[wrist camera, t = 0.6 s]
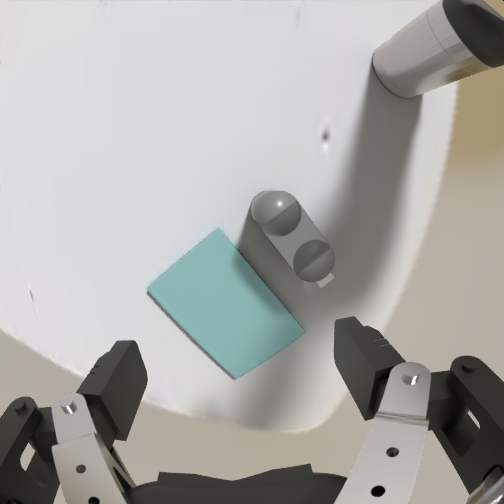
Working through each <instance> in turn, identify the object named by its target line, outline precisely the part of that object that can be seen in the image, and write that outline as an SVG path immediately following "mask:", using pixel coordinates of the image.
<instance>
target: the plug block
mask: <svg viewBox="0 0 504 504" xmlns="http://www.w3.org/2000/svg"><path fill="white" fill-rule="evenodd" d="M250 212H251V215H252V218H253V219H254V221H255V222H256V223H257V224H258V226H259V227H260V228H261V230H262V231H263V232H264V233H265V235H266V236H267V237H268V238H269V240H270V241H271V242H272V244H273V245H274V246H275V247H276V249H277V250H278V251H279V253H280V254H281V255H282V256H283V258H284V259H285V260H286V261H287V263H288V264H289V265H290V267H291V268H292V269H293V270H294V272H295V273H296V274H297V275H298V276H299V277H300V278H301V279H302V280H305V281H307V282H316V283H317V285H318V286H319V287H320V288H322V287H324V286H325V285H326V284H327V283H329V282H330V281H331V280H332V279H334V278H335V277H334V276H333V274H332V273H331V270H332V268H333V265H334V253H333V251H332V249H331V247H330V246H329V244H328V243H327V241H326V240H325V238H324V237H323V236H322V234H321V233H320V231H319V230H318V228H317V227H316V226H315V224H314V223H313V221H312V220H311V219H310V217H309V216H308V214H307V213H306V212H305V210H304V209H303V208H302V206H301V205H300V204H299V202H298V201H297V200H296V198H295V197H294V196H292V195H291V194H289V193H287V192H284V191H263V192H261V193H259V194H257V195H256V196H255V197H254V199H253V200H252V203H251V206H250Z"/></svg>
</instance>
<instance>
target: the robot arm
mask: <svg viewBox="0 0 504 504" xmlns="http://www.w3.org/2000/svg"><path fill="white" fill-rule="evenodd" d="M503 1H504V0H503ZM502 65H504V17H502V16H501V15H500V14H499V13H497V12H496V11H495V10H494V9H493V8H492V7H490V6H489V5H488V4H487V3H486V2H485V1H483V0H440V1H438V2H437V3H436V4H434V5H433V6H431V7H430V8H429V9H427V10H426V11H425V12H423V13H422V14H421V15H419V16H418V17H417V18H415V19H414V20H413V21H411V22H410V23H409V24H407V25H406V26H405V27H404V28H402V29H401V30H400V31H398V32H397V33H396V34H395V35H393V36H392V37H391V38H389V39H388V40H387V41H386V42H385V43H383V44H382V45H381V46H380V47H378V48H377V49H376V50H375V52H374V54H373V66H374V70H375V72H376V74H377V76H378V78H379V79H380V81H381V82H382V83H383V84H384V86H385V87H386V88H388V89H389V90H390V91H391V92H393V93H394V94H396V95H398V96H400V97H403V98H413V97H416V96H418V95H420V94H423V93H425V92H428V91H431V90H433V89H436V88H438V87H441V86H444V85H446V84H449V83H452V82H454V81H457V80H460V79H463V78H466V77H468V76H471V75H474V74H477V73H480V72H483V71H486V70H489V69H492V68H496V67H499V66H502ZM334 360H335V364H336V367H337V368H338V370H339V372H340V374H341V376H342V378H343V380H344V382H345V384H346V385H347V387H348V389H349V391H350V393H351V395H352V397H353V398H354V401H355V402H356V404H357V406H358V408H359V410H360V412H361V414H362V416H363V418H364V420H365V421H367V420H370V419H373V418H374V420H373V422H372V425H371V428H370V430H369V433H368V435H367V437H366V440H365V442H364V445H363V447H362V449H361V452H360V454H359V456H358V458H357V460H356V462H355V465H354V467H353V469H352V471H351V473H350V475H349V477H348V478H346V477H343V476H339V475H335V474H328V473H313V472H312V469H311V464H306V465H300V466H295V467H288V468H281V469H274V470H270V471H267V472H264V473H261V474H257V475H254V476H250V477H247V478H243V479H240V480H235V481H229V480H222V479H217V478H212V477H207V476H202V475H197V474H185V473H167V472H159V476H158V481H155V482H150V483H145V484H142V485H139V486H136V485H135V483H134V482H133V480H132V478H131V477H130V475H129V473H128V471H127V470H126V468H125V466H124V464H123V462H122V461H121V459H120V456H119V455H118V453H117V451H116V449H115V447H114V446H113V442H114V440H122V441H126V440H127V437H128V435H129V431H130V429H131V426H132V423H133V421H134V418H135V415H136V412H137V409H138V407H139V404H140V402H141V399H142V396H143V394H144V391H145V388H146V386H147V381H148V377H147V371H146V368H145V365H144V363H143V360H142V357H141V354H140V351H139V348H138V345H137V343H136V342H135V341H134V340H123V341H116V343H115V344H114V346H113V347H112V348H111V350H110V351H109V352H107V353H105V354H104V355H103V356H102V357H100V358H99V359H98V360H97V362H96V363H95V365H94V368H92V369H91V371H90V374H88V375H87V377H86V378H85V380H84V381H83V383H82V384H81V386H80V388H79V389H78V390H77V392H76V393H68V394H65V395H62V396H60V397H59V398H58V399H56V400H55V402H54V403H53V405H52V407H46V408H38V406H37V404H36V403H35V401H34V400H33V399H32V398H30V397H20V398H18V399H16V400H14V401H13V402H12V403H11V404H10V405H9V407H8V408H7V409H6V411H5V412H4V414H3V415H2V416H1V418H0V504H53V502H54V499H55V496H56V493H57V490H58V488H59V485H60V484H61V488H62V491H63V494H64V497H65V500H66V503H67V504H409V501H410V498H411V495H412V492H413V489H414V485H415V482H416V479H417V475H418V472H419V467H420V464H421V459H422V455H423V451H424V446H425V442H426V436H427V431H429V430H433V432H434V434H435V435H436V437H437V439H438V440H439V442H440V443H441V445H442V447H443V449H444V450H445V452H446V454H447V455H448V457H449V459H450V460H451V462H452V464H453V465H454V467H455V469H456V471H457V473H458V474H459V476H460V478H461V480H462V482H463V483H464V485H465V487H466V489H467V491H468V493H469V495H470V496H469V498H468V500H467V503H466V504H504V382H503V381H502V380H501V379H500V378H499V377H498V376H497V375H496V374H495V373H494V372H493V371H492V370H491V369H490V368H489V367H488V366H487V365H486V364H485V363H484V362H482V361H481V360H480V359H478V358H476V357H473V356H460V357H458V358H456V359H455V360H454V361H453V362H452V365H451V368H450V370H449V371H442V372H434V373H430V371H429V370H428V369H427V368H426V367H425V366H423V365H421V364H419V363H414V362H406V361H405V360H404V359H403V358H402V357H401V355H400V354H399V353H398V352H397V351H396V350H395V349H394V348H393V347H392V345H389V342H388V341H387V340H386V339H384V337H383V336H382V334H381V333H380V332H379V331H378V330H376V329H374V328H372V327H370V326H364V327H363V325H362V324H361V323H360V322H359V321H358V320H357V318H356V317H354V316H353V317H348V318H342V319H337V320H336V321H335V332H334ZM469 410H470V411H471V412H472V414H473V415H474V416H475V418H476V419H477V420H478V422H479V424H480V429H479V428H478V427H477V425H476V424H475V423H474V421H473V420H472V419H471V417H470V416H469V415H468V411H469ZM28 443H29V444H30V445H31V446H32V448H33V449H34V450H35V453H34V455H33V457H32V459H31V462H30V464H29V466H28V468H27V470H26V471H25V470H24V469H23V468H22V467H21V464H20V458H21V455H22V453H23V451H24V449H25V447H26V446H27V444H28Z"/></svg>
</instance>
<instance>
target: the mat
mask: <svg viewBox="0 0 504 504" xmlns="http://www.w3.org/2000/svg"><path fill="white" fill-rule="evenodd" d="M147 290H148V291H149V292H150V293H151V295H152V296H153V297H154V298H155V299H156V300H157V301H158V302H159V303H160V304H161V306H162V307H163V308H164V309H165V310H166V311H167V312H168V313H169V314H170V315H171V316H172V317H173V318H174V319H175V320H176V321H177V323H178V324H179V325H180V326H181V327H182V328H183V329H184V330H185V331H186V332H187V333H188V334H189V335H190V336H191V337H192V338H193V339H194V340H195V341H196V342H197V343H198V344H199V345H200V346H201V347H202V348H203V349H204V350H206V351H207V352H208V353H209V354H210V355H211V356H212V357H213V358H214V359H215V360H216V361H217V362H218V363H219V364H220V365H221V366H223V367H224V368H225V369H226V370H227V371H228V372H229V373H230V374H231V375H232V376H234V377H235V378H236V379H237V378H239V377H241V376H242V375H244V374H245V373H247V372H248V371H250V370H251V369H253V368H255V367H256V366H258V365H259V364H261V363H262V362H264V361H265V360H267V359H268V358H270V357H271V356H272V355H274V354H275V353H277V352H278V351H280V350H281V349H283V348H284V347H285V346H287V345H288V344H290V343H291V342H293V341H294V340H295V339H297V338H298V337H299V336H301V335H302V334H304V333H305V331H304V329H303V328H302V327H301V326H300V325H299V323H298V322H297V321H296V320H295V319H294V317H293V316H292V315H291V314H290V313H289V311H288V310H287V309H286V308H285V307H284V306H283V304H282V303H281V302H280V301H279V300H278V298H277V297H276V296H275V295H274V294H273V292H272V291H271V290H270V289H269V287H268V286H267V285H266V284H265V283H264V281H263V280H262V279H261V278H260V277H259V275H258V274H257V273H256V272H255V271H254V269H253V268H252V267H251V266H250V265H249V263H248V262H247V261H246V260H245V259H244V257H243V256H242V255H241V254H240V252H239V251H238V250H237V249H236V248H235V246H234V245H233V244H232V243H231V241H230V240H229V239H228V238H227V237H226V235H225V234H224V233H223V232H222V231H221V229H220V228H217V229H216V230H215V231H214V232H212V233H211V234H210V235H209V236H207V237H206V238H205V239H204V240H203V241H201V242H200V243H199V244H198V245H196V246H195V247H194V248H193V249H192V250H190V251H189V252H188V253H187V254H186V255H184V256H183V257H182V258H181V259H180V260H179V261H177V262H176V263H175V264H174V265H173V266H171V267H170V268H169V269H168V270H167V271H166V272H164V273H163V274H162V275H161V276H160V277H159V278H157V279H156V280H155V281H154V282H153V283H152V284H150V285H149V286H148V287H147Z"/></svg>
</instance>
